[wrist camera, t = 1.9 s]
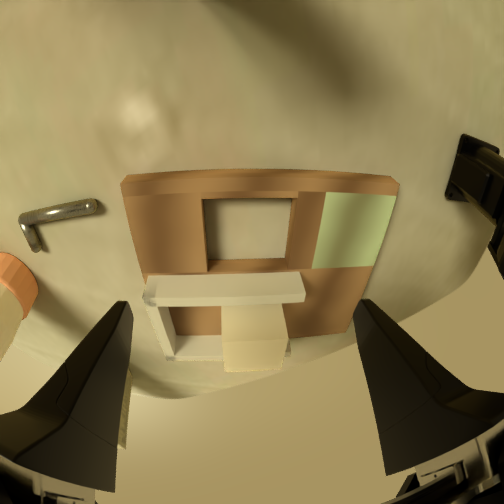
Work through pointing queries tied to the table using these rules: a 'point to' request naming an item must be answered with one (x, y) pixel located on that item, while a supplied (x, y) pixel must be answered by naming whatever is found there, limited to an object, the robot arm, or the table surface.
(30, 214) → the allen wrench
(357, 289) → the board
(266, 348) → the cube
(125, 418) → the skincare box
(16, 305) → the pepper shaker
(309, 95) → the table surface
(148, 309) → the cubby
